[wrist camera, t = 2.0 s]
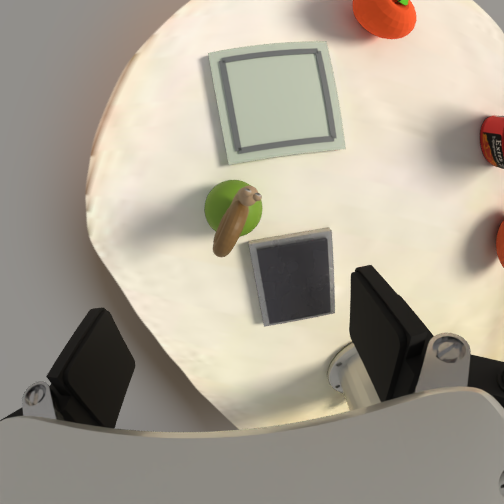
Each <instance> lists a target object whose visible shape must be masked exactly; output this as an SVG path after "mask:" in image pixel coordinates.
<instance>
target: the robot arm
mask: <svg viewBox="0 0 504 504" xmlns="http://www.w3.org/2000/svg"><path fill="white" fill-rule="evenodd" d="M349 331H350V337H351V339H352V341H353V343H351V344H350V345H348V346H347V347H345V348H344V349H343V350H342V351H341V352H339V354H338V355H337V356H336V357H335V358H334V359H333V361H332V362H331V364H330V366H329V369H328V380H329V382H330V385H331V386H332V388H334V389H335V390H336V391H339V392H342V393H344V395H345V398H346V401H347V404H348V407H349V410H350V411H348V412H344V413H340V414H335V415H331V416H326V417H322V418H317V419H312V420H307V421H302V422H296V423H290V424H284V425H277V426H270V427H262V428H254V429H243V430H232V431H217V432H152V431H136V430H123V429H114V428H115V425H116V421H117V418H118V415H119V412H120V409H121V406H122V403H123V400H124V397H125V394H126V391H127V388H128V386H129V383H130V380H131V377H132V374H133V372H134V369H135V361H134V358H133V357H132V355H131V353H130V351H129V349H128V348H127V345H126V344H125V342H124V340H123V338H122V336H121V334H120V332H119V330H118V328H117V326H116V324H115V322H114V320H113V318H112V316H111V314H110V312H109V311H107V310H106V309H105V308H95V309H91V310H90V311H89V312H88V314H87V315H86V316H85V318H84V319H83V321H82V322H81V324H80V325H79V327H78V328H77V329H76V331H75V332H74V334H73V335H72V337H71V338H70V340H69V341H68V343H67V344H66V346H65V348H64V349H63V351H62V352H61V354H60V355H59V357H58V358H57V360H56V362H55V363H54V365H53V367H52V368H51V370H50V372H49V373H48V375H47V378H48V379H49V381H50V382H51V385H50V386H49V385H48V384H47V383H46V382H43V381H40V382H36V383H34V384H32V385H31V386H29V387H28V388H27V389H26V391H25V392H24V394H23V397H22V408H21V409H19V410H17V411H15V412H14V413H12V414H10V415H8V416H7V417H5V418H3V419H2V420H0V504H504V362H501V361H497V360H492V359H488V358H484V357H479V356H475V355H471V354H470V347H469V345H468V343H467V341H466V340H465V339H464V338H462V337H460V336H459V335H456V334H453V333H441V334H438V335H436V336H433V335H432V333H431V332H430V331H429V330H428V328H427V327H426V326H425V325H424V323H423V322H422V321H421V320H420V319H419V317H418V316H417V315H416V314H415V313H414V311H413V310H412V309H411V308H410V307H409V305H408V304H407V303H406V302H405V301H404V300H403V298H402V297H401V296H400V295H398V294H397V293H396V292H395V291H394V290H393V289H392V288H391V286H390V285H389V284H388V283H387V282H386V281H385V280H384V278H383V277H382V276H381V275H380V274H379V273H378V272H377V271H376V270H375V268H374V267H373V266H372V265H368V266H363V267H358V268H356V269H355V272H353V273H351V301H350V327H349Z"/></svg>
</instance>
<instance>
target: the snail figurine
mask: <svg viewBox="0 0 504 504" xmlns="http://www.w3.org/2000/svg"><path fill="white" fill-rule="evenodd" d="M261 198H262V196H261V194H259V193H258V191H257V190H256V188H254V187H253V186H251V185H249V184H247V183H245V182H243V181H239V180H228V181H224V182H222V183H220V184H218V185H217V186H215V187H214V188H213V189H212V190H211V191H210V193H209V194H208V196H207V199H206V202H205V216H206V219H207V221H208V223H209V225H210V226H211V227H212V229H213V230H215V231H216V234H215V237H214V241H213V242H214V244H213V252H214V254H215V255H216V256H218V257H225V256H226V255H228V254H229V253H230V252H231V250H232V249H233V247H234V246H235V244H236V242H237V240H238V238H239V237H241V236H244V235H246V234H248V233H249V232H251V231H252V230H253V229H254V228H255V227H256V226H257V224H258V223H259V221H260V219H261V215H262V202H261Z"/></svg>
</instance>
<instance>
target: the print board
mask: <svg viewBox="0 0 504 504" xmlns="http://www.w3.org/2000/svg"><path fill="white" fill-rule="evenodd" d="M208 56H209V61H210V67H211V72H212V78H213V83H214V89H215V94H216V100H217V105H218V110H219V116H220V121H221V126H222V132H223V137H224V142H225V148H226V153H227V158H228V164H229V165H231V164H237V163H242V162H248V161H254V160H260V159H266V158H273V157H280V156H287V155H294V154H302V153H310V152H319V151H329V150H339V149H346V147H345V140H344V132H343V125H342V118H341V112H340V106H339V100H338V94H337V89H336V83H335V78H334V73H333V69H332V64H331V59H330V55H329V51H328V46H327V42H326V41H311V42H287V43H274V44H263V45H255V46H247V47H240V48H233V49H227V50H222V51H216V52H211V53H208Z"/></svg>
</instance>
